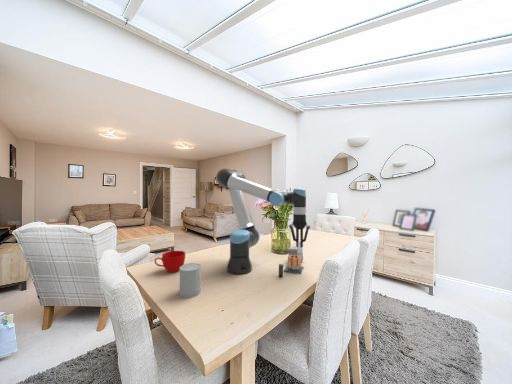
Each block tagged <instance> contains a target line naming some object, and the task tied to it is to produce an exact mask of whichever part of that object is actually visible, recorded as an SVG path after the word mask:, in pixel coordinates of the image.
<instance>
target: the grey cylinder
mask: <svg viewBox="0 0 512 384" xmlns="http://www.w3.org/2000/svg"><path fill="white" fill-rule="evenodd" d="M201 270H202V269H201V264H199V263H196V262H195V263H194V262H193V263H184V264H183V265H182V266H180V270H179V296H180V297H181V298H184V299H190V298H194V297H197V296H199V294H201V292H202V291H201Z"/></svg>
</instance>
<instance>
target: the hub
mask: <svg viewBox="0 0 512 384" xmlns="http://www.w3.org/2000/svg"><path fill="white" fill-rule="evenodd" d="M304 268H305V267H304V266H301V267H291V266H288V264H287V266H285V268H284V269H283V272H285V271H287V272H286V273H292V272H293V273H294V274H298V273H299V274H301V275H302V272H303V271H302V270H304ZM293 273H292V274H293Z"/></svg>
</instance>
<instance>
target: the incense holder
mask: <svg viewBox="0 0 512 384" xmlns="http://www.w3.org/2000/svg"><path fill="white" fill-rule="evenodd" d="M286 252H287V253H288V255H299V256H301V262H302V261H303V260H304V254H303V247H302V248H301V253H298V247H296V245H294V246H293V245H291V247H289V248H287V249H286Z"/></svg>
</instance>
